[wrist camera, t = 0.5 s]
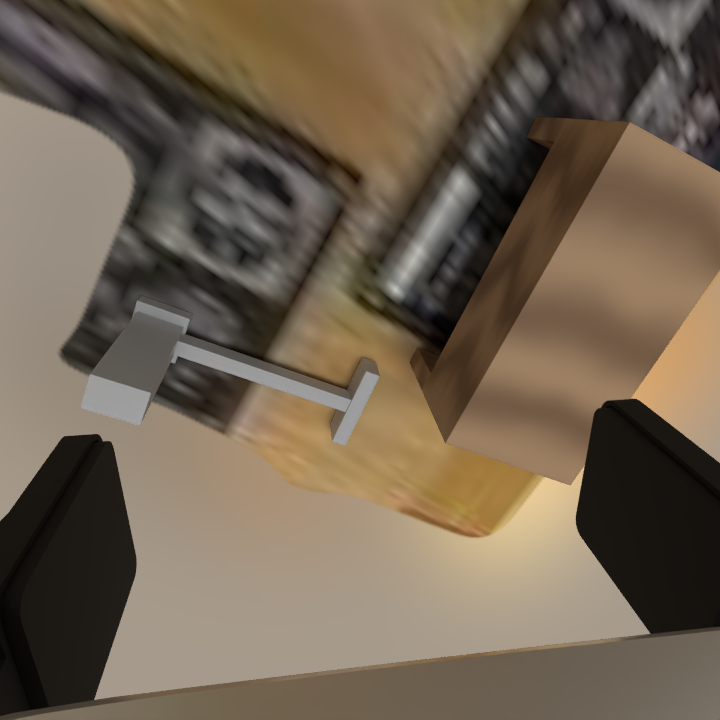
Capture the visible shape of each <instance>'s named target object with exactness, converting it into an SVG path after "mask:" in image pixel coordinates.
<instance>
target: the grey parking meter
mask: <svg viewBox="0 0 720 720" xmlns="http://www.w3.org/2000/svg"><path fill="white" fill-rule="evenodd" d="M191 317H192V313H189V312H186V311H183V310H180V309H178V308H175V307H172V306H169V305H166V304H164V303H161V302H158V301H155V300H152V299H150V298H147V297H144V296H140V298H139V299H138V300H137V303H136V306H135V310H134V313H133V316H132V319H131V321H130V322H129V323H128V325H127V326H126V327H125V329H124V330H123V331H122V333H121V334H120V335H119V337H118V338H117V339H116V341H115V342H114V343H113V345H112V346H111V347H110V349H109V350H108V351H107V352H106V354H105V355H104V356H103V358H102V359H101V360H100V362H99V363H98V364H97V366H96V367H95V368H94V370H93V371H92V372H91V374H90V377H89V380H88V384H87V387H86V391H85V394H84V398H83V401H82V405H81V408H82V409H86V410H89V411H92V412H96V413H99V414H103V415H106V416H109V417H113V418H116V419H119V420H123V421H126V422H129V423H133V424H136V425H141V423H142V421H143V419H144V416H145V414H146V412H147V410H148V408H149V406H150V404H151V402H152V400H153V398H154V396H155V394H156V392H157V389H158V387H159V385H160V383H161V381H162V379H163V377H164V375H165V373H166V371H167V369H168V367H169V365H170V362H172V363H175V362H176V360H177V358H178V356H179V357H182V358H185V359H188V360H191V361H194V362H197V363H200V364H203V365H206V366H209V367H212V368H215V369H218V370H221V371H224V372H227V373H230V374H233V375H236V376H239V377H242V378H245V379H248V380H251V381H254V382H257V383H260V384H263V385H266V386H269V387H272V388H275V389H278V390H281V391H284V392H287V393H290V394H293V395H296V396H299V397H302V398H305V399H308V400H311V401H314V402H317V403H320V404H323V405H326V406H329V407H332V408H335V409H337V411H336V413H335V415H334V417H333V419H332V421H331V424H330V427H331V437H332V442H335V443H338V444H341V445H344V446H345V445H346V443H347V441H348V439H349V437H350V435H351V433H352V431H353V429H354V427H355V425H356V423H357V421H358V419H359V417H360V415H361V413H362V411H363V409H364V407H365V405H366V403H367V401H368V399H369V397H370V395H371V393H372V391H373V389H374V387H375V385H376V383H377V381H378V379H379V377H380V375H379V372H378V369H377V365H376V362H375V361H372V360H370V359H367V358H364V357H362V359H361V361H360V363H359V365H358V367H357V369H356V371H355V373H354V376H353V378H352V380H351V382H350V384H349V386H348V388H347V390H345V389H342V388H339V387H337V386H334V385H331V384H328V383H325V382H322V381H319V380H316V379H313V378H311V377H308V376H305V375H302V374H299V373H296V372H293V371H290V370H287V369H285V368H282V367H279V366H276V365H273V364H270V363H267V362H264V361H261V360H259V359H256V358H253V357H250V356H247V355H244V354H241V353H238V352H235V351H233V350H230V349H227V348H224V347H221V346H218V345H215V344H212V343H209V342H207V341H204V340H201V339H198V338H195V337H192V336H189V335H186V332H187V329H188V326H189V323H190V320H191Z"/></svg>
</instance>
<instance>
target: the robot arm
mask: <svg viewBox="0 0 720 720" xmlns="http://www.w3.org/2000/svg"><path fill="white" fill-rule="evenodd" d="M576 525H577V529H578V532H579V534H580V536H581V537H582V539H583V540H584V541H585V543H586V544H587V546H588V547H589V549H590V550H591V551H592V553H593V554H594V555H595V557H596V558H597V560H598V561H599V562H600V564H601V565H602V567H603V568H604V569H605V571H606V572H607V573H608V575H609V576H610V578H611V579H612V581H613V582H614V583H615V585H616V586H617V587H618V589H619V590H620V592H621V593H622V594H623V596H624V597H625V599H626V600H627V601H628V603H629V604H630V606H631V607H632V608H633V610H634V611H635V613H636V614H637V615H638V617H639V618H640V619H641V621H642V622H643V623H644V625H645V626H646V628H647V629H648V630H649V632H650V633H651V634H646V635H637V636H628V637H619V638H611V639H610V638H609V639H600V640H592V641H582V642H573V643H563V644H555V645H546V646H537V647H528V648H519V649H511V650H502V651H493V652H484V653H475V654H467V655H458V656H449V657H441V658H432V659H423V660H415V661H406V662H398V663H389V664H381V665H373V666H363V667H355V668H347V669H338V670H330V671H322V672H314V673H306V674H297V675H289V676H281V677H272V678H264V679H256V680H248V681H240V682H232V683H223V684H215V685H207V686H198V687H190V688H182V689H174V690H166V691H159V692H151V693H143V694H135V695H127V696H118V697H111V698H105V699H98V700H94V698H95V695H96V692H97V689H98V686H99V683H100V680H101V677H102V674H103V671H104V668H105V665H106V662H107V659H108V656H109V653H110V650H111V647H112V644H113V641H114V638H115V635H116V632H117V629H118V626H119V623H120V620H121V617H122V614H123V611H124V608H125V605H126V602H127V599H128V596H129V593H130V590H131V587H132V584H133V581H134V578H135V574H136V554H135V549H134V544H133V539H132V535H131V530H130V525H129V520H128V515H127V510H126V506H125V501H124V496H123V491H122V486H121V481H120V477H119V472H118V467H117V462H116V457H115V452H114V448H113V445H112V443H111V442H110V441H105V442H103V441H102V439H101V437H100V436H99V435H98V434H92V435H78V436H64V437H63V438H62V439H61V440H60V442H59V443H58V445H57V446H56V447H55V449H54V450H53V451H52V453H51V454H50V456H49V457H48V458H47V460H46V461H45V463H44V464H43V465H42V467H41V468H40V470H39V471H38V472H37V474H36V475H35V477H34V478H33V479H32V481H31V482H30V484H29V485H28V486H27V488H26V489H25V491H24V492H23V493H22V495H21V496H20V498H19V499H18V500H17V502H16V503H15V505H14V506H13V508H12V509H11V510H10V512H9V513H8V514H7V515H6V516H5V517H4V518H3V519H2V520H1V521H0V720H720V463H719V462H718V461H716V460H715V459H714V458H712V457H711V456H710V455H709V454H707V453H706V452H705V451H704V450H702V449H701V448H699V447H698V446H697V445H696V444H694V443H693V442H692V441H691V440H689V439H688V438H687V437H685V436H684V435H683V434H682V433H680V432H679V431H678V430H676V429H675V428H674V427H673V426H671V425H670V424H669V423H668V422H666V421H665V420H664V419H662V418H661V417H660V416H658V415H657V414H656V413H655V412H653V411H652V410H651V409H650V408H648V407H647V406H646V405H644V404H643V403H642V402H640V401H639V400H637V399H623V400H608V401H606V402H604V403H603V405H602V407H601V408H598V409H597V410H596V411H595V413H594V416H593V422H592V427H591V433H590V439H589V444H588V450H587V456H586V462H585V467H584V474H583V479H582V485H581V490H580V496H579V502H578V507H577V513H576Z"/></svg>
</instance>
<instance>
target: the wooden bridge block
mask: <svg viewBox="0 0 720 720" xmlns="http://www.w3.org/2000/svg"><path fill="white" fill-rule="evenodd" d="M526 137H527V138H529V139H531V140H532V141H534V142H536V143H538V144H540V145H542V146H544V147H546V148H548V149H550V151H549V153H548V155H547V156H546V158H545V160H544V162H543V164H542V166H541V168H540V170H539V171H538V173H537V175H536V177H535V179H534V181H533V183H532V185H531V186H530V188H529V190H528V192H527V194H526V196H525V198H524V200H523V201H522V203H521V205H520V207H519V209H518V211H517V213H516V215H515V216H514V218H513V220H512V222H511V224H510V226H509V228H508V229H507V231H506V233H505V235H504V237H503V239H502V241H501V243H500V244H499V246H498V248H497V250H496V252H495V254H494V256H493V258H492V259H491V261H490V263H489V265H488V267H487V269H486V271H485V273H484V274H483V276H482V278H481V280H480V282H479V284H478V286H477V288H476V289H475V291H474V293H473V295H472V297H471V299H470V301H469V302H468V304H467V306H466V308H465V310H464V312H463V314H462V316H461V317H460V319H459V321H458V323H457V325H456V327H455V329H454V331H453V332H452V334H451V336H450V338H449V340H448V342H447V344H446V346H445V347H444V349H443V351H442V353H441V355H440V356H439V355H436V354H433V353H431V352H428V351H425V350H423V349H420V348H417V350H416V352H415V354H414V356H413V357H412V359H411V361H410V364H411V366H412V369H413V371H414V373H415V375H416V378H417V380H418V382H419V384H420V387H421V389H422V391H423V394H424V396H425V398H426V400H427V403H428V405H429V407H430V410H431V412H432V414H433V416H434V419H435V421H436V423H437V425H438V428H439V430H440V432H441V435H442V437H443V439H444V441H445V443H446V444H449V445H452V446H455V447H458V448H461V449H464V450H467V451H470V452H473V453H476V454H478V455H481V456H484V457H487V458H490V459H493V460H496V461H499V462H502V463H505V464H508V465H511V466H514V467H517V468H520V469H523V470H526V471H529V472H532V473H535V474H538V475H541V476H544V477H547V478H550V479H553V480H556V481H559V482H562V483H565V484H568V485H571V484H572V482H573V481H574V480H575V478H576V477H577V475H578V474H579V472H580V471H581V469H582V468H583V466H584V465H585V462H586V456H587V450H588V444H589V439H590V433H591V427H592V422H593V416H594V413H595V411H596V410H597V409H598V408H601V407H602V405H603V403H604V402H606V401H608V400H623V399H631V397H632V396H633V394H634V393H635V391H636V390H637V389H638V387H639V386H640V384H641V383H642V381H643V380H644V378H645V377H646V376H647V374H648V373H649V371H650V370H651V368H652V367H653V366H654V364H655V363H656V361H657V360H658V358H659V357H660V355H661V354H662V353H663V351H664V350H665V348H666V347H667V345H668V344H669V342H670V341H671V340H672V338H673V337H674V335H675V334H676V332H677V331H678V329H679V328H680V327H681V325H682V324H683V322H684V321H685V319H686V318H687V317H688V315H689V314H690V312H691V311H692V309H693V308H694V306H695V305H696V304H697V302H698V301H699V299H700V298H701V296H702V295H703V293H704V292H705V291H706V289H707V288H708V286H709V285H710V283H711V282H712V280H713V279H714V278H715V276H716V275H717V273H718V272H719V270H720V172H718V171H716V170H715V169H713V168H711V167H709V166H707V165H706V164H704V163H702V162H700V161H698V160H697V159H695V158H693V157H691V156H690V155H688V154H686V153H684V152H682V151H681V150H679V149H677V148H675V147H673V146H672V145H670V144H668V143H666V142H665V141H663V140H661V139H659V138H657V137H656V136H654V135H652V134H650V133H648V132H647V131H645V130H643V129H641V128H640V127H638V126H636V125H634V124H632V123H631V122H620V121H602V120H585V119H568V118H550V117H536V119H535V121H534V123H533V125H532V126H531V128H530V130H529V132H528V134H527V136H526Z"/></svg>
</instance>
